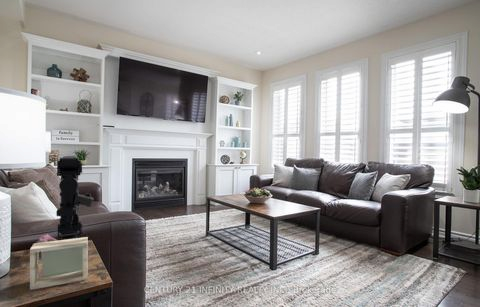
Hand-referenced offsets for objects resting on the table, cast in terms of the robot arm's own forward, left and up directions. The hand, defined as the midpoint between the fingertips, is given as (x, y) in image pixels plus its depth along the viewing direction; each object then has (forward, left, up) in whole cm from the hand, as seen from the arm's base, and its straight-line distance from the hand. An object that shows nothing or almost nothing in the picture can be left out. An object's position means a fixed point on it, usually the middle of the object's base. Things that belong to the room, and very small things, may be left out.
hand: (69, 228), depth 107 cm
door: (+12, -1, -12) cm, 18 cm away
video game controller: (-19, -10, -13) cm, 25 cm away
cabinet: (+17, -1, -13) cm, 22 cm away
